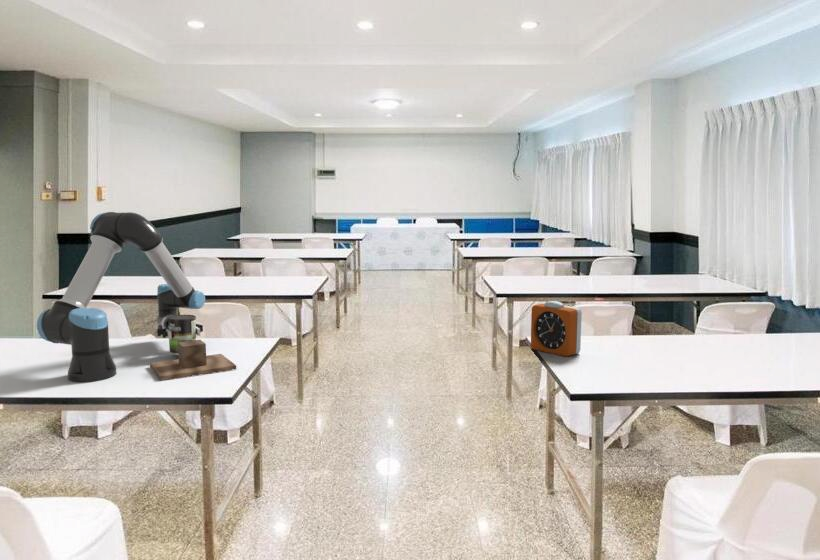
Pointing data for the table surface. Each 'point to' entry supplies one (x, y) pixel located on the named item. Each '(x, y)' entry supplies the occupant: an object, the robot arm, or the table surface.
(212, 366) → the plinth
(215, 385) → the table surface
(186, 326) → the lidded glass jar
